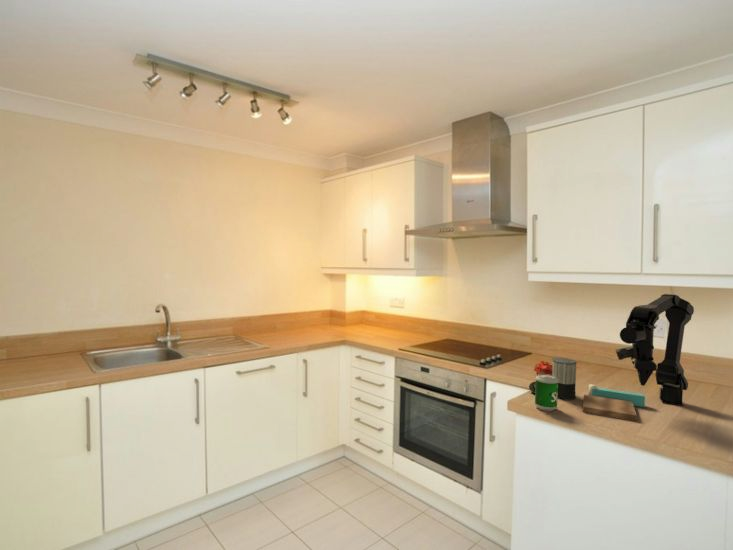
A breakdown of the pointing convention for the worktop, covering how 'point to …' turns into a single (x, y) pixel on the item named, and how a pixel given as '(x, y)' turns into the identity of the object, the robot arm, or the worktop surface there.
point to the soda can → (546, 392)
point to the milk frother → (563, 377)
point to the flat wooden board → (609, 407)
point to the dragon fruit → (543, 368)
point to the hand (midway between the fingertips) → (642, 384)
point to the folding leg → (618, 395)
